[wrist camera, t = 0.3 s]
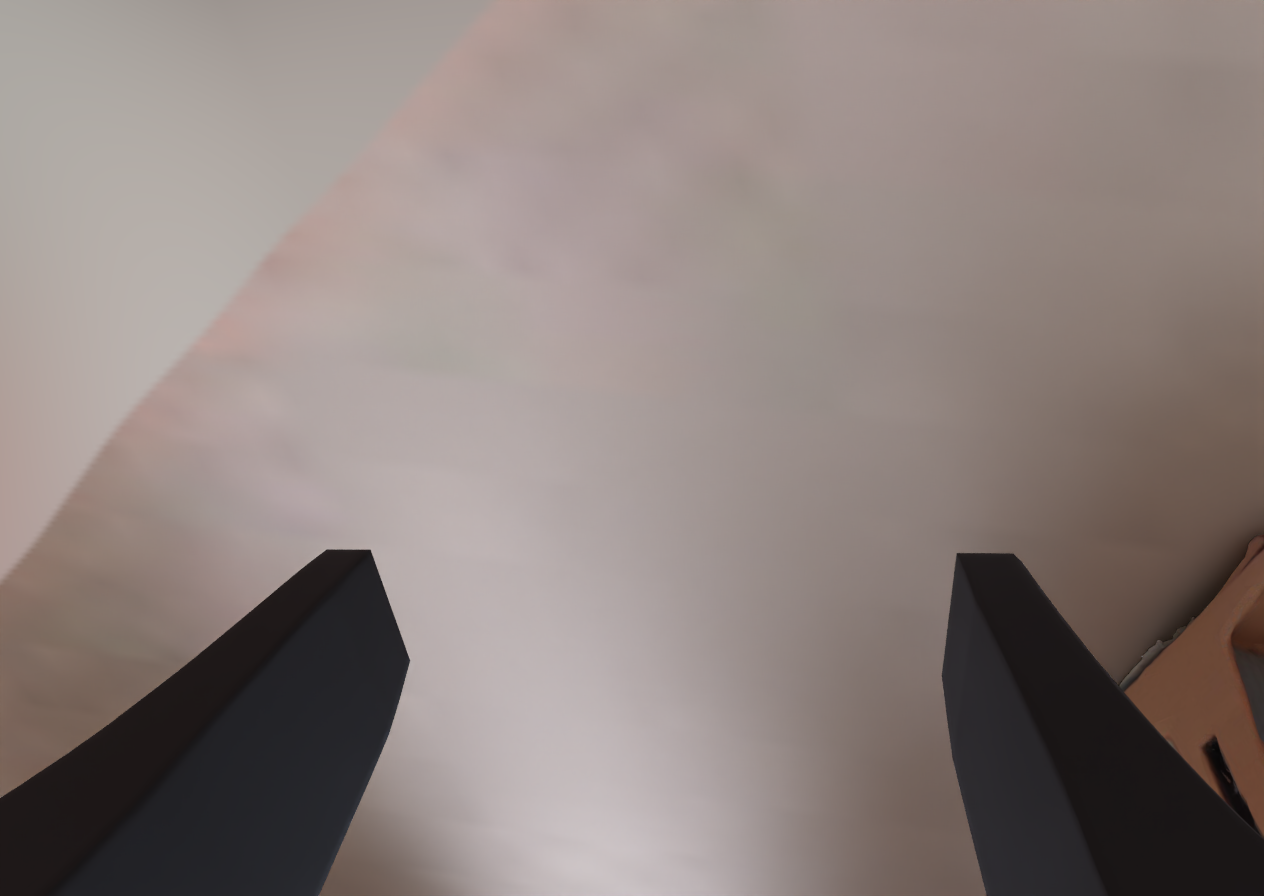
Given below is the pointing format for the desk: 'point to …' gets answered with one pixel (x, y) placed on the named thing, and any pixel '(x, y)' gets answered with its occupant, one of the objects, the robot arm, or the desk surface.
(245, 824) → the robot arm
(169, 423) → the desk surface
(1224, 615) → the electronic device
